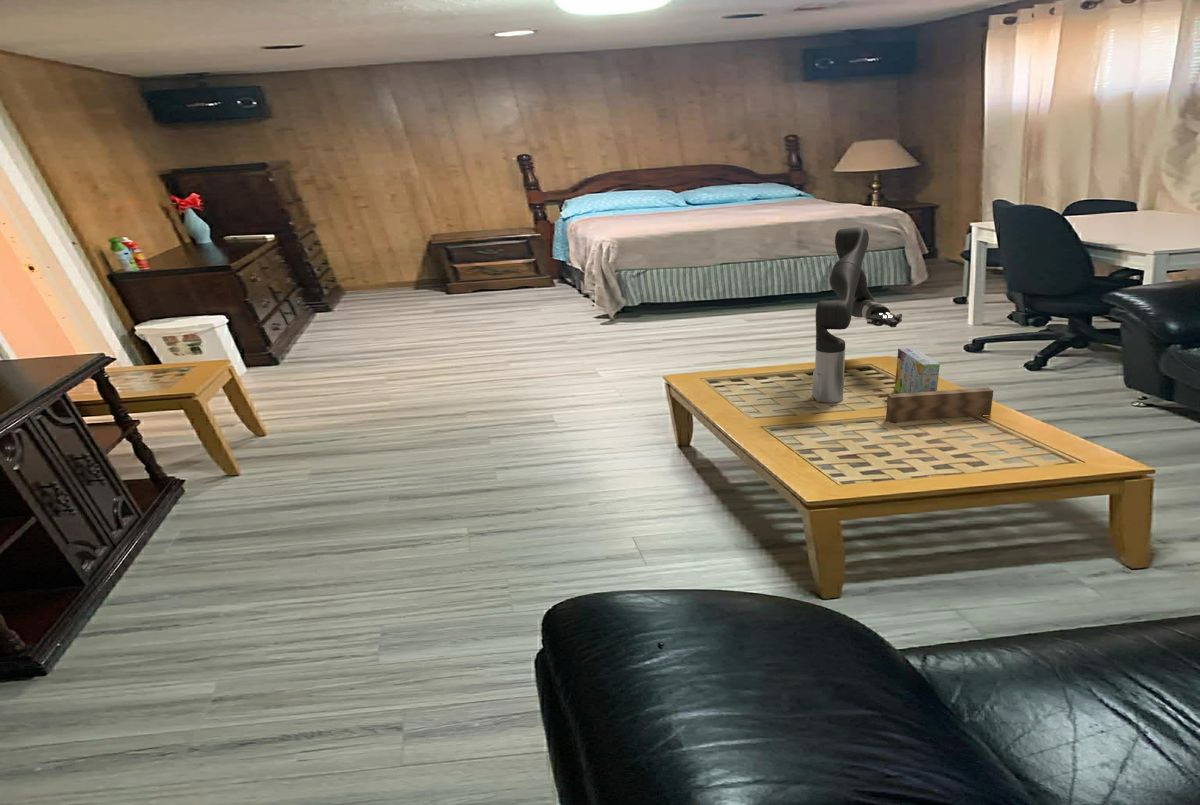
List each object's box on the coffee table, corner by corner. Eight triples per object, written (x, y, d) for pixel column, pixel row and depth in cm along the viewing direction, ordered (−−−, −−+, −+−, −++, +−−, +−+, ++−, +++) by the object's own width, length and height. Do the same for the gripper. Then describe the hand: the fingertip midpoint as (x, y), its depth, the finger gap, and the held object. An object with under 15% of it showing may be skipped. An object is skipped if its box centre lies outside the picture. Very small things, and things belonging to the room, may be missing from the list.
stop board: (889, 422, 207) (891, 397, 204) (885, 418, 210) (887, 394, 207) (990, 415, 206) (993, 390, 203) (985, 412, 209) (988, 387, 206)
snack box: (936, 409, 214) (941, 363, 209) (918, 411, 214) (922, 364, 209) (910, 388, 234) (913, 346, 229) (893, 389, 234) (896, 347, 229)
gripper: (858, 305, 251) (875, 315, 235) (894, 302, 251) (914, 312, 234) (857, 324, 254) (874, 336, 238) (893, 322, 253) (912, 333, 237)
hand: (894, 324), depth 236 cm, fingers closed
